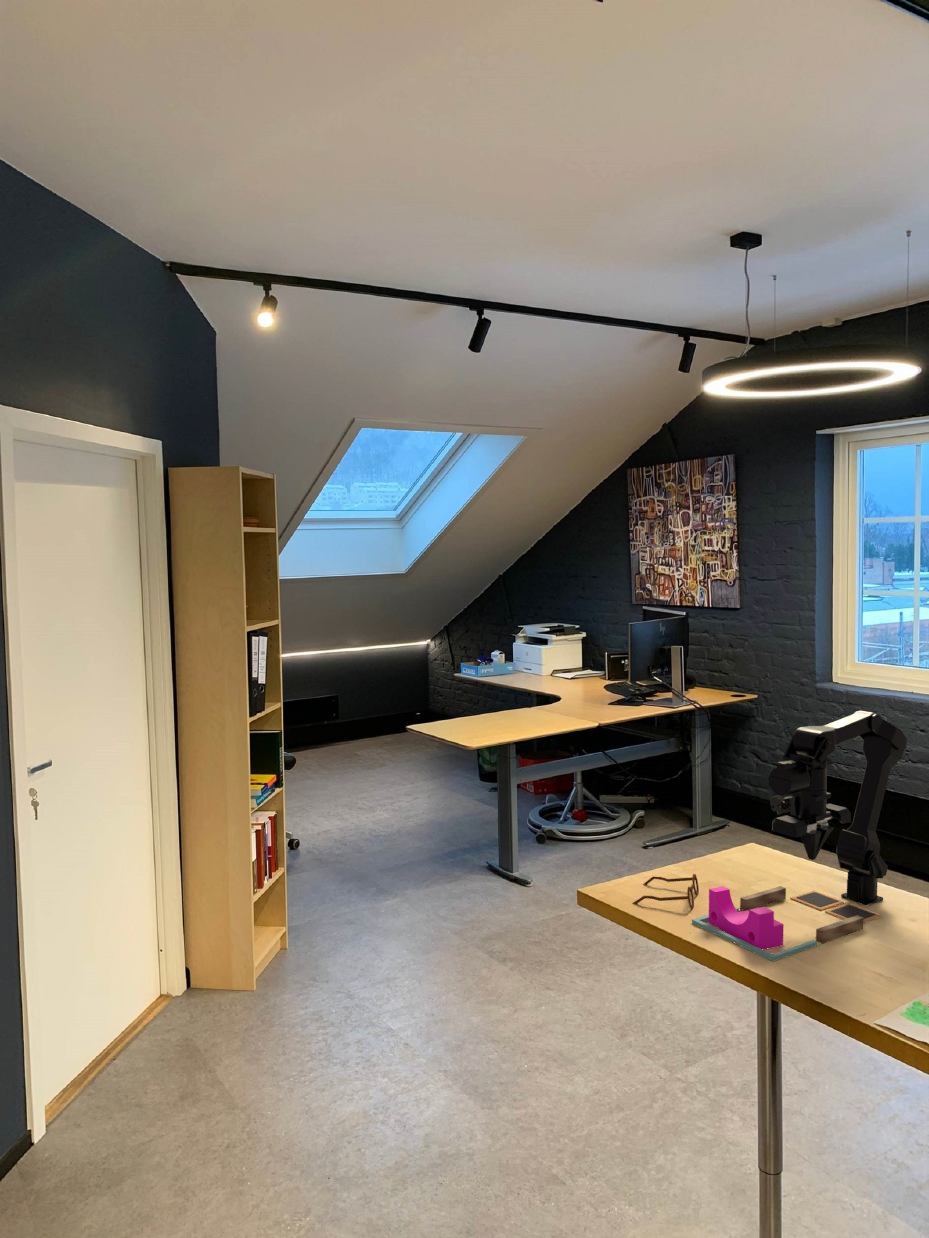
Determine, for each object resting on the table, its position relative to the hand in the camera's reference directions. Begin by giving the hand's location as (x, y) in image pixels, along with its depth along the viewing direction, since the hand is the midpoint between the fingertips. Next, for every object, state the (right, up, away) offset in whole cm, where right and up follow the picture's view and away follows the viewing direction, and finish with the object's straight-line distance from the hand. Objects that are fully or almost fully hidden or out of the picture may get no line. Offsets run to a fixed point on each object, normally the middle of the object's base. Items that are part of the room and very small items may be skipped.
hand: (811, 859), depth 192 cm
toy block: (-17, -14, -8) cm, 23 cm away
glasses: (-28, -13, +12) cm, 33 cm away
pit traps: (+7, -12, +5) cm, 15 cm away
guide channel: (-3, -12, -1) cm, 13 cm away
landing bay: (-15, -13, -8) cm, 21 cm away
